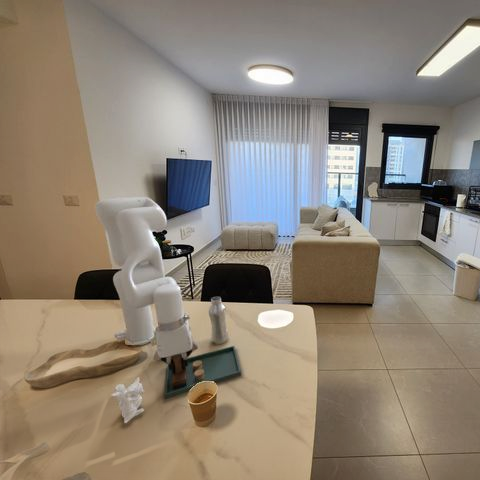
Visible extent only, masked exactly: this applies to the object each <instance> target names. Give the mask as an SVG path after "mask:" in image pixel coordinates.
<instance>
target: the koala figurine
mask: <svg viewBox="0 0 480 480" xmlns="http://www.w3.org/2000/svg"><path fill="white" fill-rule="evenodd" d="M114 390H115V392H114V393H113V392H112V393H111V394H110V396H111V397H113V398H115V397H116V400H117V402H118V406H119V409H120V411H121V416H122V417H123V424H127V423H128V422H129V421H130V420H131V419H133V418H134V417H136V416H139V415H141V414H142V413H143V412H144V411H145V409H144V407H142V408H139V407H140V406H141V404H142V401H143V397H142V396H141V394H144V392H145V389H144V388H143V383H140V377H139V376H138V377H137V378H135V380H134V381H133V383H131V384H129V386H127V388H126V385H125V384H122V383H120V384H117V385H116V386H115V388H114ZM138 408H139V409H138Z"/></svg>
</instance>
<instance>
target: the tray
mask: <svg viewBox="0 0 480 480" xmlns="http://www.w3.org/2000/svg"><path fill="white" fill-rule="evenodd" d="M187 360H188V366H187V386H186V387H182V388H179V389H176V390H173V386H172V376H173V374H172V371H169V366H168V365H167V368H166V377H165V384H164V385H165V386H164V399H165V400H167V399H170V398H173V397H176V396H180V395H182V394H186V393H189V392H190V391H189V390H190V389H191V388H192V387H193V386H195V385H196V384H197V383H199V382H202V381H214V382H215V383H214V384H217V383H221V382H224V381H227V380H230V379H233V378H236V377H239V376H242V370H241V367H240V363H239V358H238V355H237V351H236V347H235V345H231V346H228V347H224V348H220V349H216V350H212V351H209V352H205V353H201V354H197V355H194V356H189V357H188V358H187ZM198 360H200V361H202V368H201V369H203V370H204V378H203V379H201V380H196V379H195V375H194V373H195V371H194V370H193V363H194V362H195V361H198Z"/></svg>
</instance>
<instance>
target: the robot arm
mask: <svg viewBox="0 0 480 480" xmlns="http://www.w3.org/2000/svg"><path fill="white" fill-rule="evenodd" d="M94 213H95V215H96V218H97V220H98V221H99V223H100V224H101V226H102V227H103V229H104V230H105V232H106V234H107V239H108V242H109V247H110V248H109V249H110V251H111V256H112V259H113V262H114V264H116V265H117V266H119V267H122V268H121V269H120V270H118V271H117V272H115V273H114V275H113V277H112V281H113V285H114V288H115V290H116V292H117V294H118V298H119V301H120V305H121V311H122V315H123V320H124V325H125V330H123V331H118V332H115V333H114V337H115V338H116V340H117V341H118V340H122V339H123V340H124V339H126V340H128V341H129V342H130V343H132V344H136V345H139V346H143V345H147V344H148V343H151V341H150V340H151V338H153V337H154V333H153V329H154V327H155V323H154V318H153V317H154V316H153V312H152V307H151V305H154V309H155V313H156V314H155V315H156V320H157V325H158V327H157V330H156V342H157V345H156V351H155V353H154V356H153V360H155V361H161V362H164V363H166V365H167V367H168V366H169V371H172V374H174V372H175V370H174V364H173V358H171V356H172V355H176V354H180V353H181V354H182V364H183V370H184V371H185V370H186V366H188V360H187V358H190V356H191V354H193V352H195V351H197V350H198V349H199V346H198V344H197V343H196V341H194V340H193V334H192V330H191V326H190V323H189V321H188V320H190V318H191V317H190V315H189V314H185V312H184V304H183V297H182V295H183V294H182V290H181V287H180V285H178V283H177V281H176V280H175V279H174V278H173V277H172V276H166V273H165V267H164V261H163V256H162V250H161V248H160V245H159V243H158V241H157V240H156V239H155V237H154V234H153V232H152V231H156V230H162V229H164V228H166V227H167V223H168V219H167V215H166V213H165V211H164V210H163V209H162V208H161V207H160V205H159V204H158V203H156V202H155V201H154V200H153V199H152V198H150V197H147V196H131V197H113V198H105V199H100V200H98V201H96V203H94ZM146 262H148V263H146ZM140 263H145V264H141V265H138V264H140ZM139 346H138V347H139Z"/></svg>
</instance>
